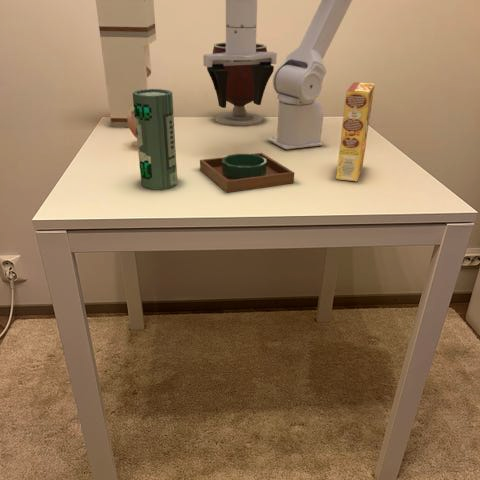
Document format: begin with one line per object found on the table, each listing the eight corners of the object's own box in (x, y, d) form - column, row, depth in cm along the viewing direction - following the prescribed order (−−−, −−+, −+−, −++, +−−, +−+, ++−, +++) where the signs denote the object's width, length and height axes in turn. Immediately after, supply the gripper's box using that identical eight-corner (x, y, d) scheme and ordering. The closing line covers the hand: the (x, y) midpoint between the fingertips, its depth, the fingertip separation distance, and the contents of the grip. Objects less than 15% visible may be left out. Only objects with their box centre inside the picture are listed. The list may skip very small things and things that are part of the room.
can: (145, 177, 91) (137, 88, 82) (178, 178, 90) (173, 89, 82) (139, 189, 86) (129, 95, 77) (174, 190, 85) (168, 96, 77)
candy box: (357, 182, 90) (371, 91, 81) (334, 179, 91) (346, 89, 82) (362, 168, 97) (376, 83, 88) (341, 165, 98) (352, 81, 89)
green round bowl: (251, 164, 97) (252, 151, 95) (274, 176, 91) (274, 163, 89) (215, 170, 93) (214, 157, 92) (235, 183, 88) (235, 169, 86)
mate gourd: (205, 116, 131) (203, 29, 120) (252, 112, 136) (254, 28, 124) (226, 130, 120) (226, 35, 108) (277, 125, 124) (282, 33, 113)
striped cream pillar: (155, 127, 120) (141, -52, 100) (111, 126, 120) (89, -53, 100) (161, 116, 130) (150, -49, 110) (121, 116, 130) (102, -50, 110)
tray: (261, 162, 99) (261, 152, 98) (293, 182, 89) (294, 172, 88) (200, 169, 95) (199, 159, 94) (226, 192, 85) (226, 181, 84)
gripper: (212, 29, 86) (213, 112, 93) (286, 27, 91) (281, 106, 98) (198, 26, 91) (200, 104, 99) (268, 24, 96) (265, 99, 104)
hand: (239, 105), depth 99 cm, fingers open, 7 cm apart
